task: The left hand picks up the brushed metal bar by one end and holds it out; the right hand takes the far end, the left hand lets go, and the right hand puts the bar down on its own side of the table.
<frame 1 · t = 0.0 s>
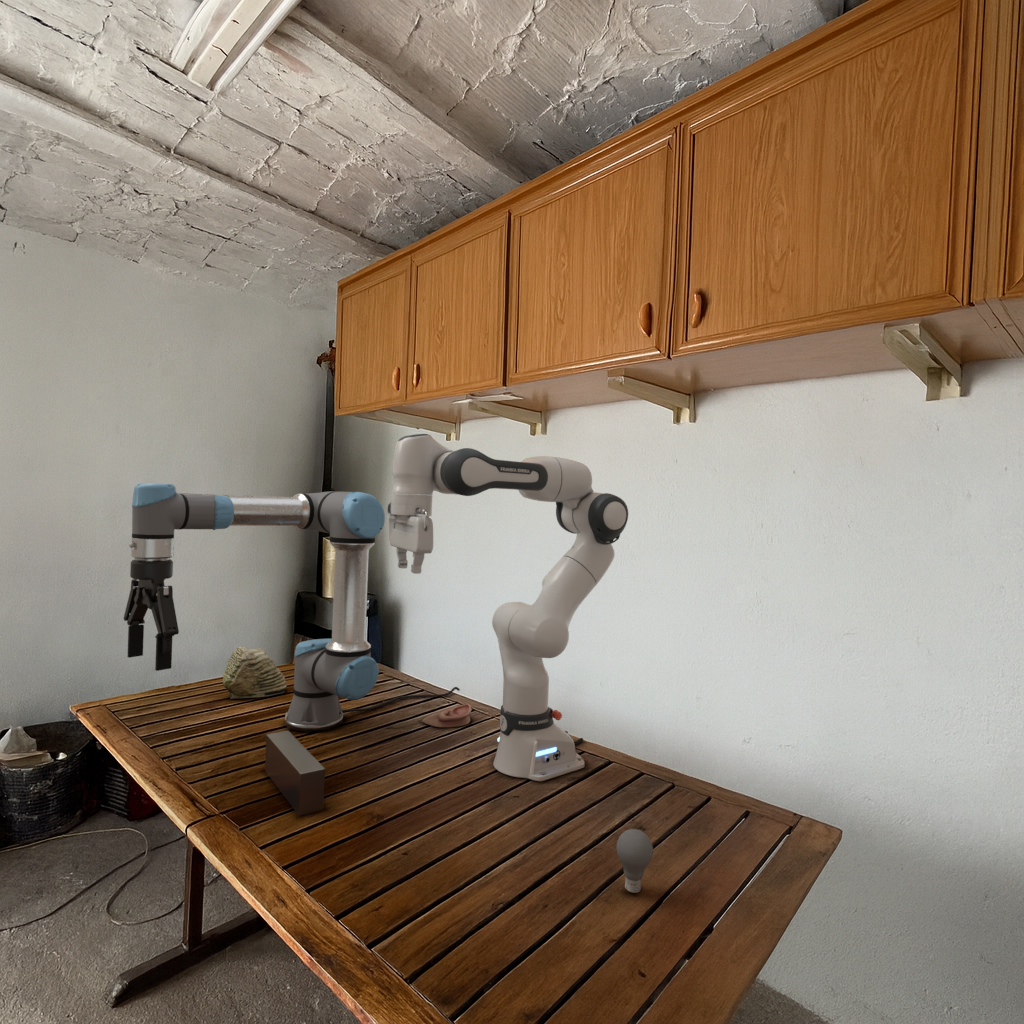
left hand: (148, 662, 129), 28 cm above the table, tool pointing down, fingers open, 13 cm apart
right hand: (409, 570, 139), 48 cm above the table, tool pointing down, fingers open, 8 cm apart
fossil: (254, 694, 198), on the table
bar: (292, 789, 137), on the table
light bulb: (632, 891, 106), on the table
anatomical model: (446, 721, 182), on the table
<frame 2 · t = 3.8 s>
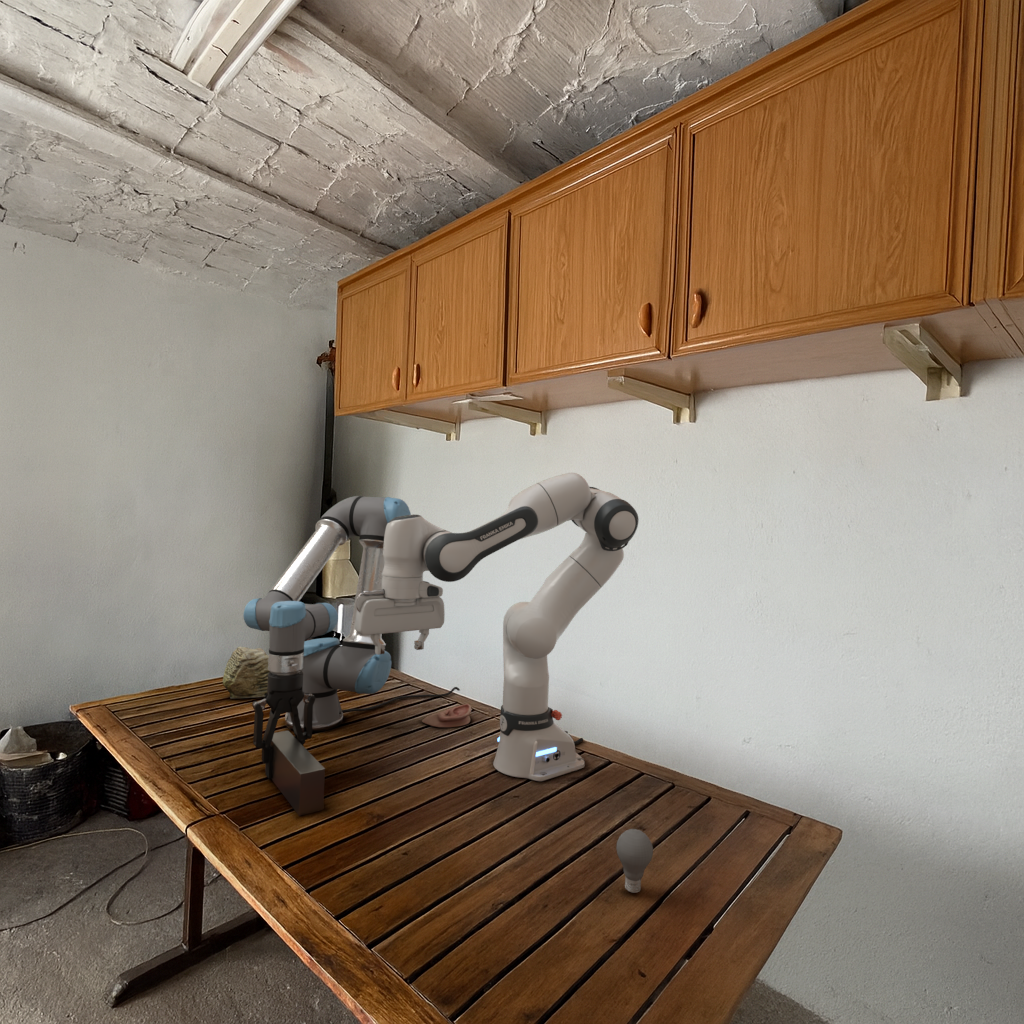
left hand: (281, 773, 143), 1 cm above the table, tool pointing down, fingers closed on bar, 5 cm apart
right hand: (399, 651, 139), 30 cm above the table, tool pointing down, fingers open, 8 cm apart
bar: (292, 789, 137), on the table, touching left hand
everything else where it was.
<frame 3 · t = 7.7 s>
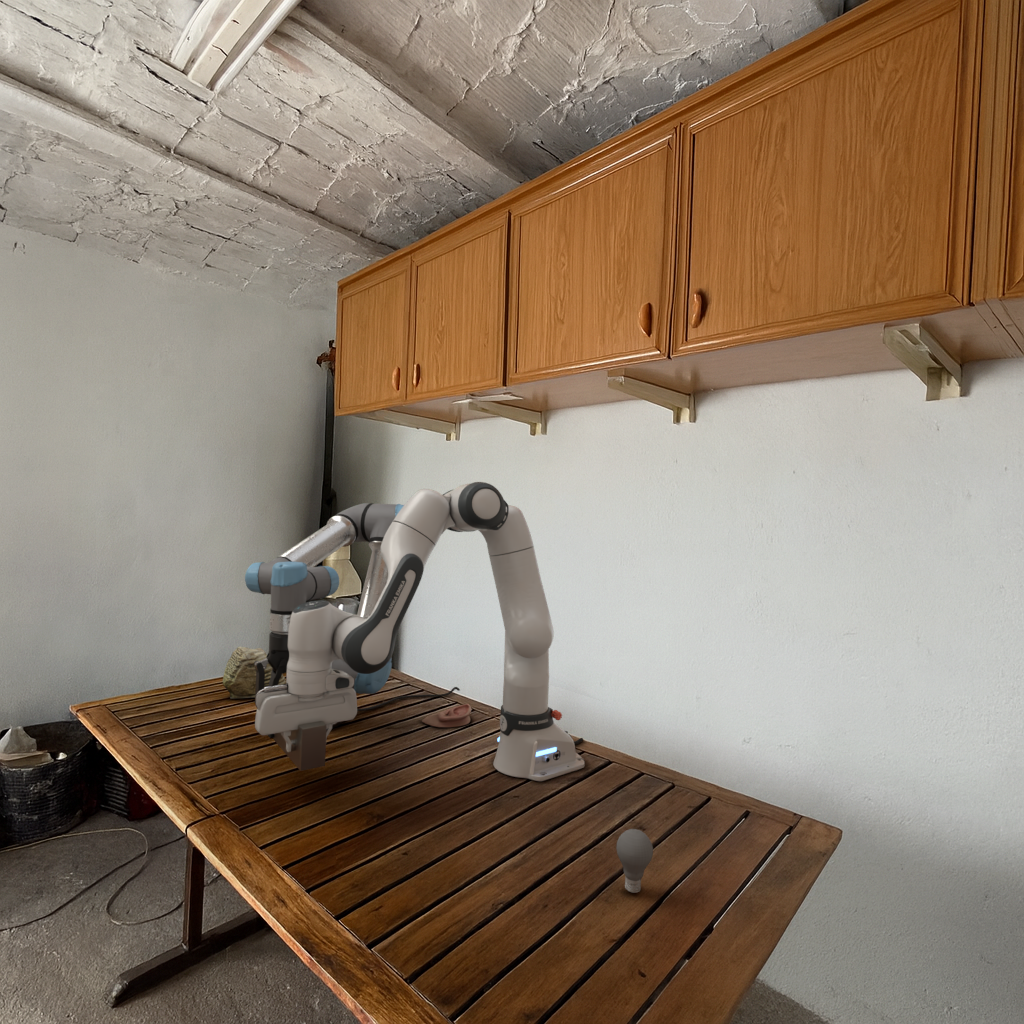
left hand: (283, 733, 143), 10 cm above the table, tool pointing down, fingers closed on bar, 5 cm apart
right hand: (306, 747, 130), 12 cm above the table, tool pointing down, fingers closed on bar, 5 cm apart
bar: (294, 747, 137), point 9 cm above the table, touching left hand, right hand
everything else where it was.
when the left hand's fingers open (10 cm above the table, at t = 8.7 s): bar stays where it is, held by the right hand.
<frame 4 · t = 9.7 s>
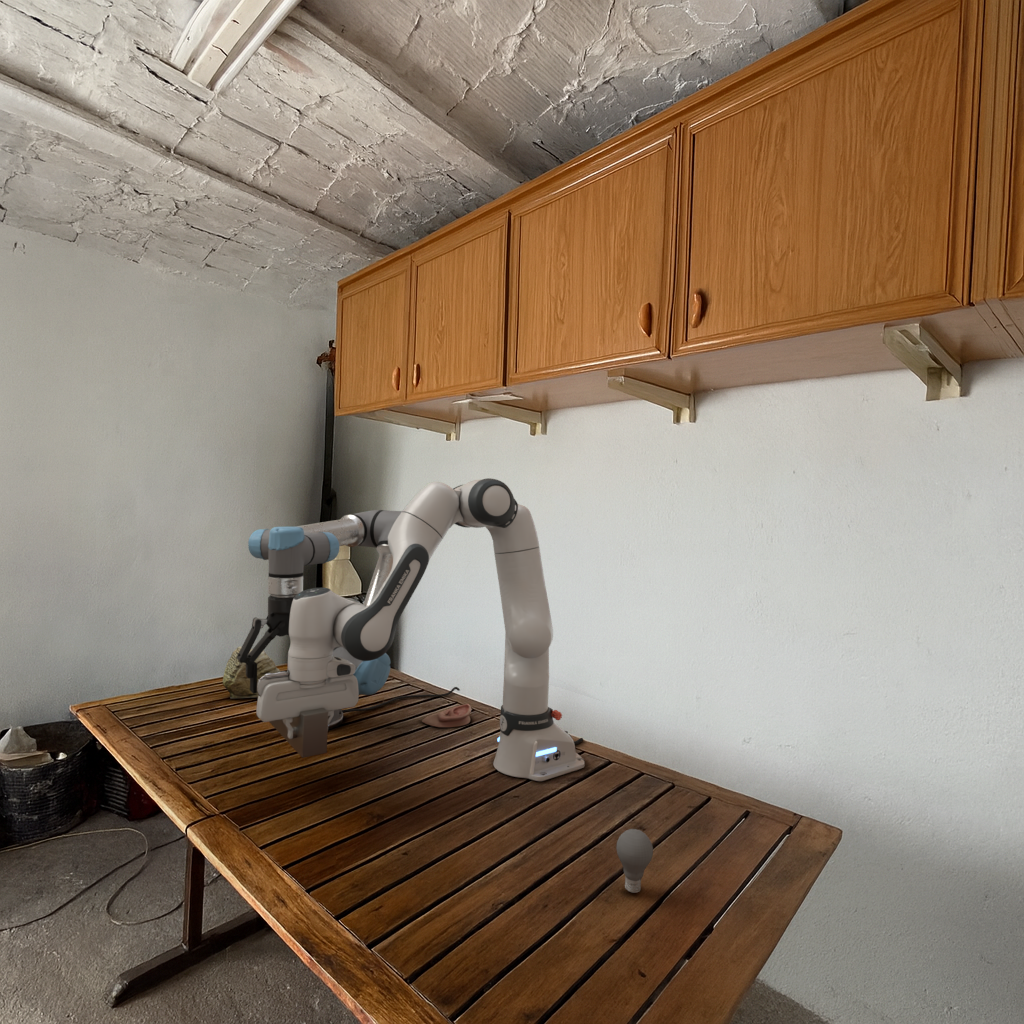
left hand: (284, 686, 145), 19 cm above the table, tool pointing down, fingers open, 13 cm apart
right hand: (308, 734, 130), 14 cm above the table, tool pointing down, fingers closed on bar, 5 cm apart
bar: (295, 735, 136), point 12 cm above the table, touching right hand
everything else where it was.
when the right hand's fingers open (4 cm above the table, at t = 13.7 s): bar drops 1 cm, on the table.
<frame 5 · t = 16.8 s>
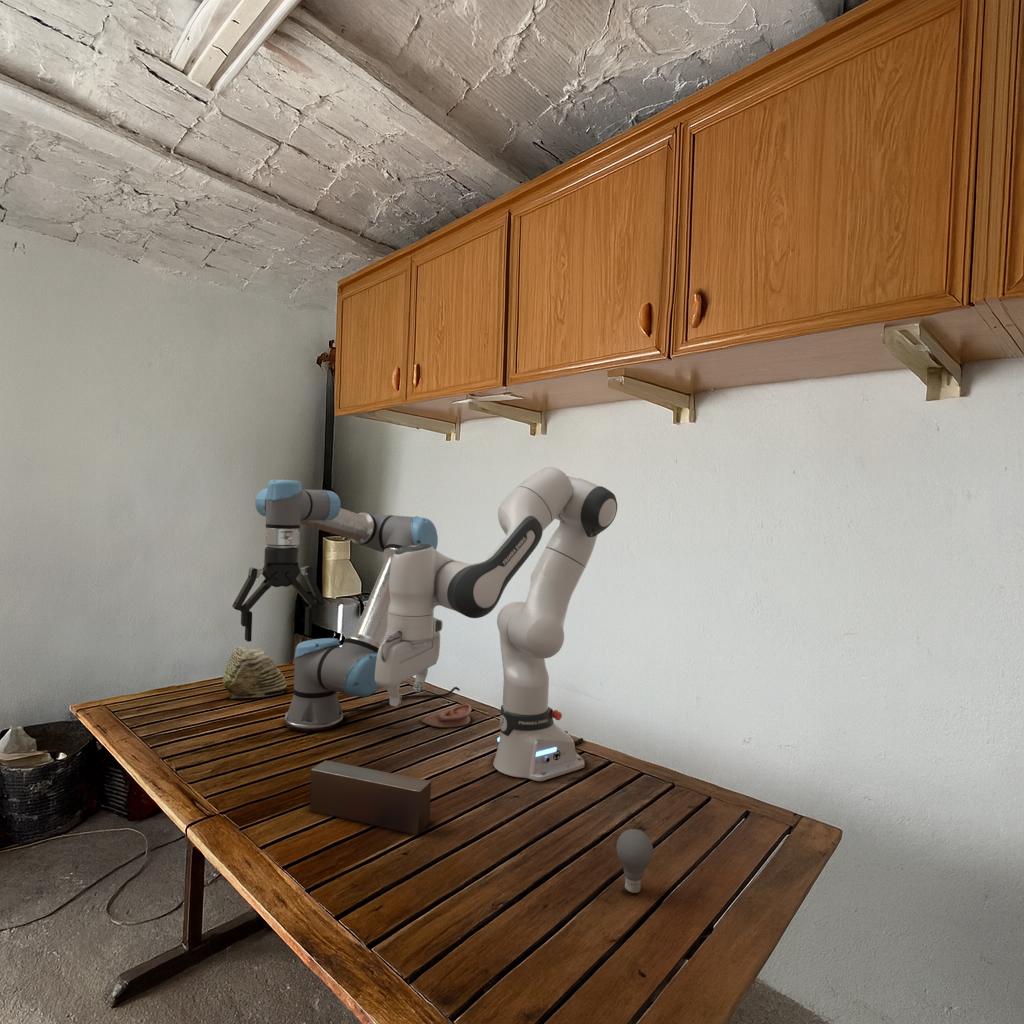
left hand: (278, 637, 147), 30 cm above the table, tool pointing down, fingers open, 13 cm apart
right hand: (407, 697, 123), 25 cm above the table, tool pointing down, fingers open, 8 cm apart
bar: (368, 816, 126), on the table
everything else where it was.
at the end: bar inside the target area (7.5 cm from its centre), on the table; the left hand is holding nothing; the right hand is holding nothing; bar at rest at the end (0.0 cm/s) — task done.
